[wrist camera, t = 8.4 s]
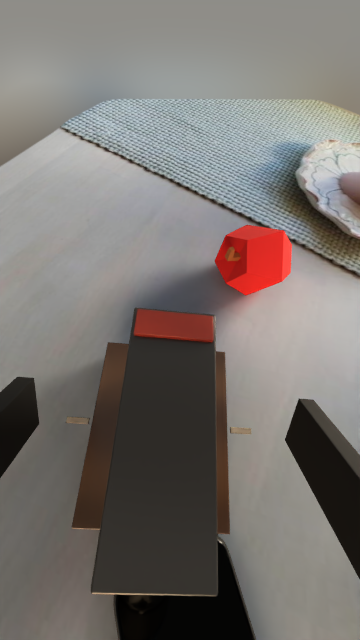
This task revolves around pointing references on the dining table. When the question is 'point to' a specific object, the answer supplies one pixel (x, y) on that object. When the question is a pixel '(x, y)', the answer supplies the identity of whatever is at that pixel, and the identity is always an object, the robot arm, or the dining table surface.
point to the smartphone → (188, 611)
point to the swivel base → (104, 433)
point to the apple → (254, 258)
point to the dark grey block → (163, 463)
